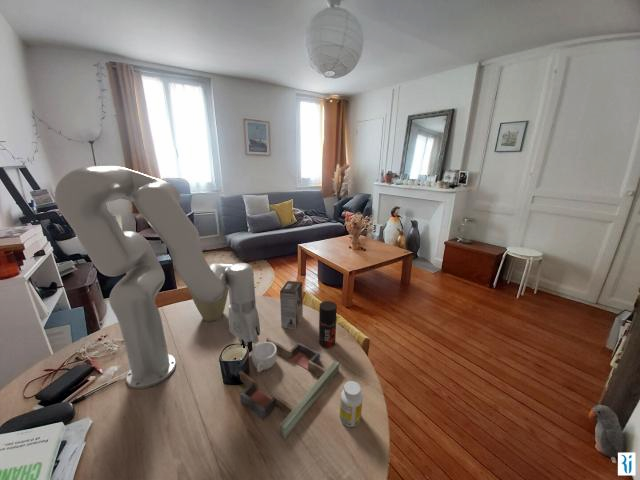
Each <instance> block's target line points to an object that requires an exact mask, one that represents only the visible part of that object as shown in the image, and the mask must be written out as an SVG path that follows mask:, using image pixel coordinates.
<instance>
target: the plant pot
mask: <svg viewBox="0 0 640 480" xmlns="http://www.w3.org/2000/svg"><path fill="white" fill-rule="evenodd" d="M188 290H189V293H190V295H191V297H192V300H193V302H194V305H195V308H196V309H197V311H198V312H199V314H200V316H201V317H202V319H203V320H205V321H206V322H215V321H216V320H219V319H221V318H222V316H224V315H223V314H224V312H225V308H226V304H227V300H228V297H229V289H228V287H226V288H225V292H224V294H223V296H222V297H221V298H220V299H219V300H217V301H215V302H204V301H202V300H200V299H198V298H197V297H196V296H195V295H194V294H193V293H192V292H191V291H190V289H189V288H188Z"/></svg>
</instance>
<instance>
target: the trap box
mask: <svg viewBox="0 0 640 480" xmlns="http://www.w3.org/2000/svg"><path fill="white" fill-rule="evenodd" d="M265 342H271V343H273V344H275V346H276V348H277V354H280V355H281V356H283V357H285V358H286V359H288V360H290V361H291V362H293V363H295V364H297V365H298V366H300V367H303V368H304V369H305V370H307V371H309V372H311V373H312V374H315V375H316V376H317V377H319V379H318V380H317V381H316V382H315V383H314V384H313V385H312V387H310V389H309V390H308V391H307V392H306V393H305V394H304V396H303V397H302V398H301V399H300V400H299V402H298V403H297V404H296V405H295V406H293V405H292V404H291V403H289V402H287V401H286V400H284V399H283V398H281V397H280V396H279V395H277V394H274V396H273V397H272V398H270V397H269V396H267V395H266V394H265V393H263V392H262V391H261V390H259V386H258V385H259V384H258V383H259V382H258V381H257V380H256V379H254V378H252V377H251V376H250V375H249V374H247V373H245V372H244V371H243V370H241V372H239V375H240V380H241V381H240V380H239V381H240V382H241V383H243V384H244V385H245V386H247V387H246V388H245V389H243V391H242V392H241V393H239V398H240V403H241V405H243V406H244V407H246V408H247V409H248V410H249V411H250V412H252V413H253V414H255V416H257V417H258V418H259V419H261V420H262V421H266V419H267V418H268V417H269V416H270V415H271V414H272V412H274V410H275V409H276V408H277V409H278V410H279V411H280V412H281V413H283V414H285V415H286V417H285V418H284V419H283V420H282V421H281V423H280V424H279V434H280V436H282V437H283V438H284V439H286V438H287V437H288V436H289V434H290V433H291V431H293V429H294V428H295V426H296V425H297V424H298V423H299V421H301V419H302V418H303V417H304V415H305V414H306V413H307V412H308V410H309V409H310V408H311V407H312V405H313V404H314V402H315V401H316V400H317V399H318V397H319V396H320V395H321V394H322V392H323V391H324V390H325V389H326V387H327V386H328V385H329V384H330V382H331V381H333V379H334V378H335V376H336V375H338V372H339V371H340V362H339V361H336V360H334V361H333V362H331V364H330V366H329V367H328V368H327V369H326V368H324V367H323V366H320V365H318V363H319V362H320V361H321V353H320V352H319V351H316V350H314V349H313V348H311V347H308V346H307V345H306V344H303V343H301V342H297V344H295V345H294V346H293V347H292V348H291V349H289V348H288V347H285V346H284V345H282V344H280V343H278V342H276V341H275V340H273V339H271V338H270V337H267V338H266V339H265Z"/></svg>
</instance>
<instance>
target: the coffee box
mask: <svg viewBox="0 0 640 480" xmlns="http://www.w3.org/2000/svg"><path fill="white" fill-rule="evenodd" d="M279 297H280V301H279V302H280V303H279V304H280V323H281V325H280V327H281V328H283V329H290V330H297V329H298V328H299V325H300V322H301V321H302V318H303V315H304V314H303V312H304V311H303V309H304V307H303V306H304V305H303V303H304V302H303V282H302V281H296V280H295V281H294V280H293V281H291V280H287V281H286V282H285V284H284V285H283V287H282V288H281V289H280V290H279Z"/></svg>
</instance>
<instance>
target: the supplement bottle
mask: <svg viewBox="0 0 640 480" xmlns="http://www.w3.org/2000/svg"><path fill="white" fill-rule="evenodd" d="M361 391H362V390H361V385H360V384H359V383H358V382H356V381H355V380H350V381H349V380H348V381H347V382H346V383H344V386H343V389H342V391H341V393H340V402H339V403H340V404H339V405H340V406H339V419H340V422H341V423H342V424H343V425H344V426H347V427H348V428H350V427H351V428H352V427H356V426H358V425H359V423H360V422H361V418H362V408H363V394H362V392H361Z"/></svg>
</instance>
